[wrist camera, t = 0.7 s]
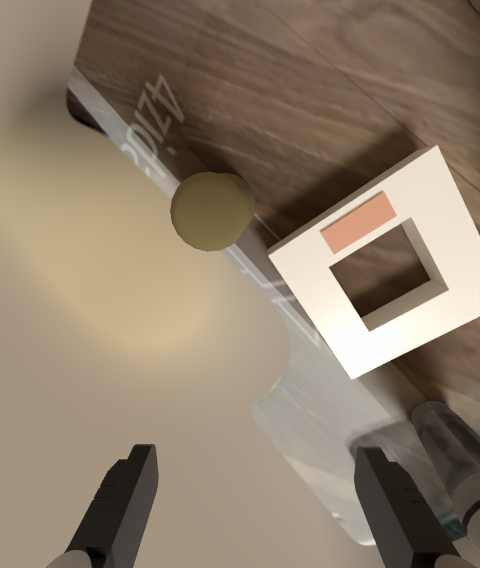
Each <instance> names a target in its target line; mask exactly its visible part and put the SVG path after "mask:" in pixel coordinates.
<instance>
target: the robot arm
mask: <svg viewBox="0 0 480 568" xmlns="http://www.w3.org/2000/svg"><path fill="white" fill-rule="evenodd" d="M470 2H471V3H472V5H473V7H474V8H475V9H476V10H477V11H478V12H479V13H480V0H470ZM354 483H355V489H356V493H357V496H358V499H359V501H360V504H361V506H362V509H363V511H364V514H365V517H366V519H367V522H368V524H369V527H370V529H371V532H372V534H373V537H374V539H375V542H376V545H377V547H378V549H379V552H380V555H381V557H382V560H383V562H384V565H385V568H476V567H475V566H474V565H472V564H471V563H469V562H468V561H466V560H464V559H462V558H461V556H460V555H459V553H458V552H457V550H456V548H455V547H454V545H453V544H452V542H451V540H450V539H449V537H448V536H447V534H446V532H445V531H444V529H443V528H442V526H441V524H440V523H439V521H438V519H437V518H436V516H435V515H434V513H433V511H432V510H431V508H430V507H429V505H428V504H427V503H426V500H425V499H424V497H423V495H422V494H421V492H419V490H418V487H417V486H416V484H415V482H414V481H413V479H412V478H411V476H410V474H409V473H408V472H406V471H405V470H404V469H403V468H402V467H401V466H400V465H399V464H398V463H397V462H389V461H388V460H387V458H386V456H385V454H384V453H383V451H382V449H381V448H380V447H379V446H358V448H357V456H356V465H355V474H354ZM157 487H158V465H157V455H156V447H155V445H154V444H136V445H134V447H133V449H132V451H131V453H130V455H129V457H128V459H127V460H125V459H122V460H121V459H119V460H118V461H117V462H116V463H115V464H114V466H112V468H111V469H110V470H109V471H108V472H107V474H106V476H105V477H104V480H103V481H102V483H101V485H100V488H99V489H98V491H97V493H96V495H95V497H94V500H92V502H91V504H90V506H89V508H88V510H87V512H86V514H85V516H84V518H83V519H82V521H81V523H80V525H79V527H78V529H77V531H76V533H75V535H74V537H73V539H72V540H71V543H70V544H69V546H68V548H67V550H66V551H65V552H64V554H62V555H60V556H59V557H57V558H56V559H54V560H53V561H52V562H51V563H50V564H49V565H48V566H47V567H46V568H133V565H134V562H135V559H136V556H137V553H138V550H139V546H140V543H141V540H142V537H143V534H144V530H145V527H146V524H147V521H148V518H149V514H150V511H151V508H152V505H153V502H154V498H155V495H156V492H157Z"/></svg>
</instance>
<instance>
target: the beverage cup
mask: <svg viewBox="0 0 480 568" xmlns="http://www.w3.org/2000/svg"><path fill="white" fill-rule="evenodd" d="M411 422H412V423H413V425H414V428H415V430H416V433H417V435H418V437H419V438H420V440H421V442H422V444H423V446H424V448H425V450H426V452H427V454H428V456H429V458H430V459H431V461H432V463H433V465H434V467H435V469H436V471H437V473H438V475H439V477H440V478H441V480H442V482H443V484H444V486H445V488H446V490H447V492H448V494H449V496H450V498H451V499H452V501H453V506H454V509H455V511H456V514H457V516H458V519H459V521H460V522H461V524H462V527H463V532H464V533H465V535H466V536H467V538H468V539H469V540H470V541H471V543H473V544H474V546H475V547H476V548H477V550H478V551H479V553H480V436H479V435H478V434H477V433H476V432H475V431H474V430H473V429H472V428H470V427H469V426H468V425H467V424H466V423H465V422H464V421H463V420H462V419H461V418H460V417H459V416H458V415H457V414H456V413H454V412H453V411H452V410H451V409H450V408H449V407H448V406H447V405H445V404H444V403H442V402H439V401H427V402H424V403H422V404H420V405H418V406H417V407H416V408H415V409H414V410H413V412H412V414H411Z"/></svg>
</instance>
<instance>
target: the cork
mask: <svg viewBox="0 0 480 568" xmlns="http://www.w3.org/2000/svg"><path fill="white" fill-rule="evenodd" d="M255 209H256V203H255V196H254V194H253V191H252V188H251V187H250V186H249V185H248V183H247V182H246V181H245V180H244V179H242V178H241V177H239V176H237V175H235V174H230V173H214V172H202V173H197V174H195V175H192V176H190V177H188V178H186V179H185V180H184V181H183V182H182V183H181V184H180V185H179V186H178V188H177V190H176V192H175V194H174V196H173V198H172V203H171V210H170V212H171V219H172V224H173V226H174V228H175V230H176V232H177V234H178V235H179V236H180V237H181V238H182V239H183V240H184V241H185V243H187V244H189V245H191V246H192V247H194V248H196V249H200V250H204V251H219V250H222V249H224V248H226V247H229V246H231V245H232V244H233V243H234V242H235V241H236V240H238V239H239V237H240V236H241V234H242V232H243V231H244V229H245V228H246V227H247V226H249V224H250V222H251V221H252V219H253V217H254V213H255Z"/></svg>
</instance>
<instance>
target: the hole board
mask: <svg viewBox="0 0 480 568" xmlns="http://www.w3.org/2000/svg"><path fill="white" fill-rule="evenodd" d="M400 223H401V225H402V227H403V229H404V231H405V233H406V235H407V236H408V238H409V240H410V242H411V244H412V246H413V248H414V249H415V251H416V253H417V255H418V257H419V259H420V261H421V263H422V264H423V266H424V268H425V270H426V272H427V274H428V276H429V278H430V279H431V280H430V281H428V282H426V283H424V284H422V285H421V286H419V287H417V288H415V289H413V290H411V291H410V292H408V293H406V294H404V295H402V296H401V297H399V298H397V299H395V300H393V301H391V302H390V303H388V304H386V305H384V306H382V307H380V308H379V309H377V310H375V311H373V312H371V313H369V314H368V315H366V316H364V317H362V318H360V317H359V315H358V314H357V312H356V310H355V309H354V307H353V306H352V304H351V302H350V301H349V299H348V298H347V296H346V294H345V293H344V291H343V290H342V288H341V287H340V285H339V283H338V282H337V280H336V279H335V277H334V275H333V274H332V272H331V271H330V269H329V267H330V266H331V265H333V264H334V263H336V262H338V261H339V260H341V259H343V258H344V257H346V256H348V255H349V254H351V253H353V252H354V251H356V250H357V249H359V248H361V247H362V246H364V245H366V244H367V243H369V242H371V241H372V240H374V239H376V238H377V237H379V236H380V235H382V234H384V233H385V232H387V231H389V230H390V229H392V228H394V227H395V226H397V225H399V224H400ZM267 251H268V257H269V258H270V259H271V261H272V262H273V264H274V265H275V267H276V268H277V270H278V271H279V273H280V274H281V276H282V277H283V279H284V280H285V282H286V283H287V284H288V286H289V287H290V289H291V290H292V292H293V293H294V295H295V296H296V298H297V299H298V301H299V302H300V304H301V305H302V307H303V308H304V309H305V311H306V312H307V314H308V315H309V317H310V318H311V320H312V321H313V323H314V324H315V326H316V327H317V329H318V330H319V332H320V333H321V334H322V336H323V337H324V339H325V340H326V342H327V343H328V345H329V346H330V348H331V349H332V351H333V352H334V354H335V355H336V357H337V358H338V359H339V361H340V362H341V364H342V365H343V367H344V368H345V370H346V371H347V373H348V374H349V376H350V377H351V379H354V378H356V377H358V376H360V375H362V374H364V373H366V372H368V371H370V370H372V369H374V368H376V367H378V366H380V365H382V364H384V363H386V362H388V361H390V360H392V359H394V358H396V357H398V356H400V355H402V354H404V353H406V352H408V351H410V350H412V349H414V348H416V347H418V346H420V345H423V344H425V343H427V342H429V341H431V340H433V339H435V338H437V337H439V336H441V335H443V334H445V333H447V332H449V331H451V330H453V329H455V328H457V327H459V326H461V325H463V324H465V323H467V322H469V321H471V320H473V319H475V318H477V317H479V316H480V236H479V233H478V231H477V229H476V227H475V225H474V223H473V221H472V218H471V216H470V214H469V212H468V210H467V208H466V206H465V203H464V201H463V199H462V197H461V195H460V193H459V191H458V188H457V186H456V184H455V182H454V180H453V178H452V176H451V173H450V171H449V169H448V167H447V165H446V163H445V160H444V158H443V156H442V154H441V152H440V150H439V148H438V145H436V146H431V147H427V148H423V149H419V150H417V151H415V152H414V153H412V154H411V155H409V156H408V157H406V158H405V159H403V160H402V161H400V162H399V163H397V164H396V165H394V166H393V167H391V168H389V169H388V170H386V171H385V172H383V173H382V174H380V175H379V176H377V177H376V178H374V179H373V180H371V181H370V182H368V183H367V184H365V185H364V186H362V187H361V188H359V189H358V190H356V191H355V192H353V193H352V194H350V195H349V196H347V197H346V198H344V199H343V200H341V201H340V202H338V203H337V204H335V205H334V206H332V207H331V208H329V209H328V210H326V211H325V212H323V213H322V214H320V215H319V216H317V217H316V218H314V219H313V220H311V221H309V222H308V223H306V224H305V225H303V226H302V227H300V228H299V229H297V230H296V231H294V232H293V233H291V234H290V235H288V236H287V237H285V238H284V239H282V240H281V241H279V242H278V243H276V244H275V245H273V246H272V247H270V248H269V249H267Z"/></svg>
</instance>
